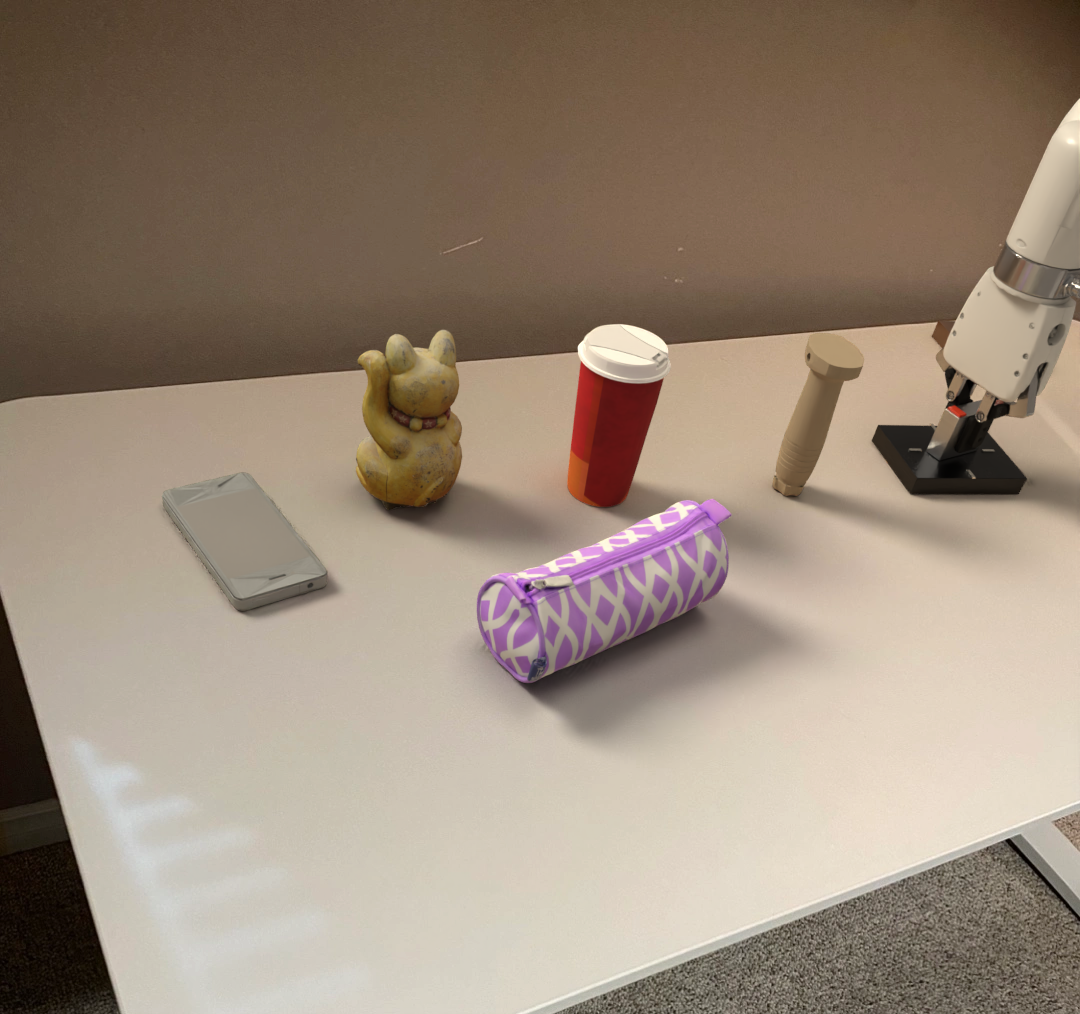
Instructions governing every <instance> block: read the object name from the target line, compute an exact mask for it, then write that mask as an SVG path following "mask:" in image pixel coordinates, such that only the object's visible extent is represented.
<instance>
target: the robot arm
mask: <svg viewBox="0 0 1080 1014" xmlns="http://www.w3.org/2000/svg"><path fill="white" fill-rule="evenodd" d="M1072 297H1075V298H1077V299H1080V98H1078V99H1077V101H1076V102H1075V103H1074V104H1073V106H1072V107H1071V108H1070V109H1069V111H1067V113H1066V114H1065V116H1064V117H1063V118H1062V121H1061V122H1060V124H1059V125H1058V127H1057V129H1056V130H1055V132H1054V133H1053V134H1052V136H1051V138H1050V140H1049V142H1048V144H1047V146H1046V149H1045V151H1044V153H1043V155H1042V158H1041V160H1040V162H1039V164H1038V167H1037V169H1036V171H1035V173H1034V176H1033V178H1032V180H1031V182H1030V184H1029V187H1028V189H1027V191H1026V194H1025V196H1024V198H1023V201H1022V203H1021V205H1020V207H1019V209H1018V212H1017V214H1016V216H1015V218H1014V220H1013V222H1012V226H1011V227H1010V229H1009V231H1008V234H1007V236H1006V239H1005V241H1004V243H1003V245H1002V248H1001V250H1000V252H999V254H998V256H997V259H996V261H995V264H994V265H993V266H990V267H988V268H987V269H986V271H985V272H984V274H983V275H982V276H981V278H979V280H978V282H977V283H976V285H975V286H974V288H973V289H972V290H971V293H970V294H969V296H968V297H967V299H966V301H965V303H964V305H963V307H962V309H961V310H960V312H959V314H958V316H957V318H956V320H955V321H956V322H955V324H954V326H953V328H952V330H951V332H950V334H949V337H948V339H947V342H946V344H945V346H944V347H943V348H941V349H940V350H939V351H938V352H937V353H936V355H935V360H936V363H937V365H939V367H940V369H941V371H942V372H943V373H944V378H945V382H946V386H947V390H946V393H945V400H947V404H946V405H945V408H944V410H945V409H946V408H948V407H950V406H959V405H963V404H967V403H971V402H974V400H973V399H972V396H973V394H974V392H975V390H976V388H977V386H978V387H980V388H981V389H983V390H984V391H985V393H984V395H983V397H982V399H981V400H982V401H981V403H980V406H979V408H978V410H977V412H976V415H975V416H973V417H970V418H968V420H967V422H966V424H965V426H964V428H963V430H962V432H961V435H960V437H959V439H958V441H957V443H956V445H955V447H954V449H955V451H956V452H957V453H963V452H966V451H970V450H973V449H976V448H977V447H979V446H980V445H981V444H982V442H983V441H984V439H985V437H986V435H987V433H989V431H990V429H991V426H992V425H993V422H994V420H996V419H1000V418H1003V417H1008V418H1009V417H1010V418H1015V419H1016V418H1017V419H1025V418H1030V417H1032V416H1033V415H1034V414H1035V409H1036V402H1037V397H1038V396H1040V395H1041V394H1042V393H1043V392H1044V389H1045V388H1046V386H1047V384H1048V382H1049V380H1050V378H1051V376H1052V373H1053V371H1054V370H1055V367H1056V365H1057V362H1058V360H1059V358H1060V356H1061V353H1062V350H1063V349H1064V345H1065V342H1066V340H1067V338H1068V334H1069V331H1070V329H1071V326H1072V323H1073V318H1074V315H1075V311H1076V306H1077V301H1076V300H1075V299H1073V298H1072ZM942 415H943V413H942ZM942 415H941V416H942Z"/></svg>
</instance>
